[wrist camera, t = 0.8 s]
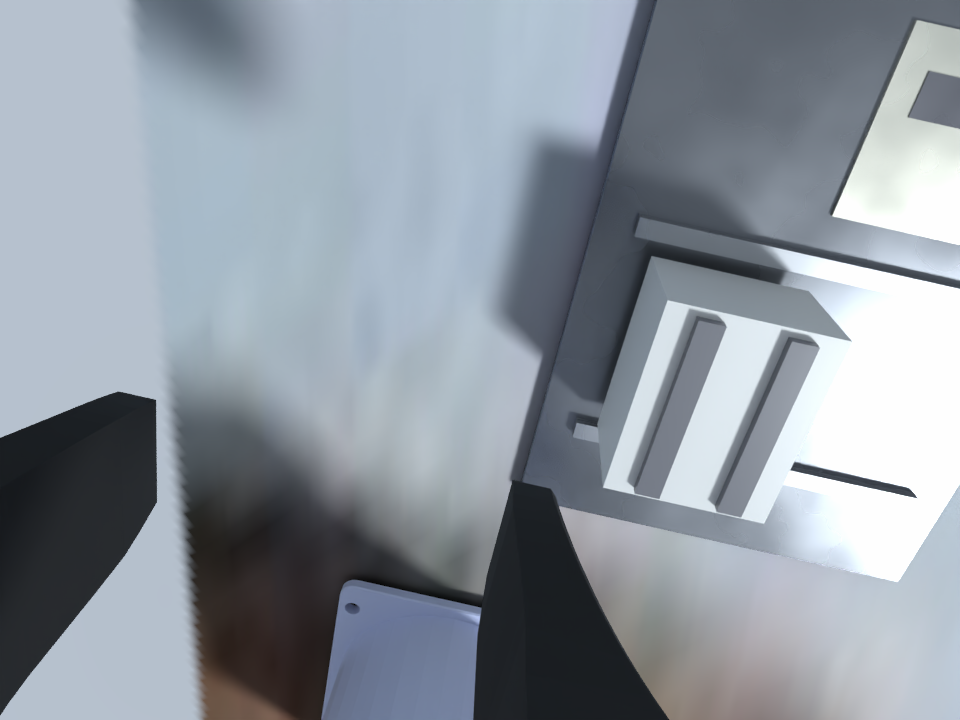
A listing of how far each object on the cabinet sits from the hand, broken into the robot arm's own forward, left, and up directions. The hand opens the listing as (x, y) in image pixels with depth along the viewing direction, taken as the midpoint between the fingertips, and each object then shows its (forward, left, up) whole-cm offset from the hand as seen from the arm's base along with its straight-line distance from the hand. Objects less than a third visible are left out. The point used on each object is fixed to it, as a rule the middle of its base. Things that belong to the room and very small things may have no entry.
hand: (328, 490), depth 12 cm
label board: (+2, -10, -9) cm, 14 cm away
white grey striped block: (0, -8, -9) cm, 12 cm away
